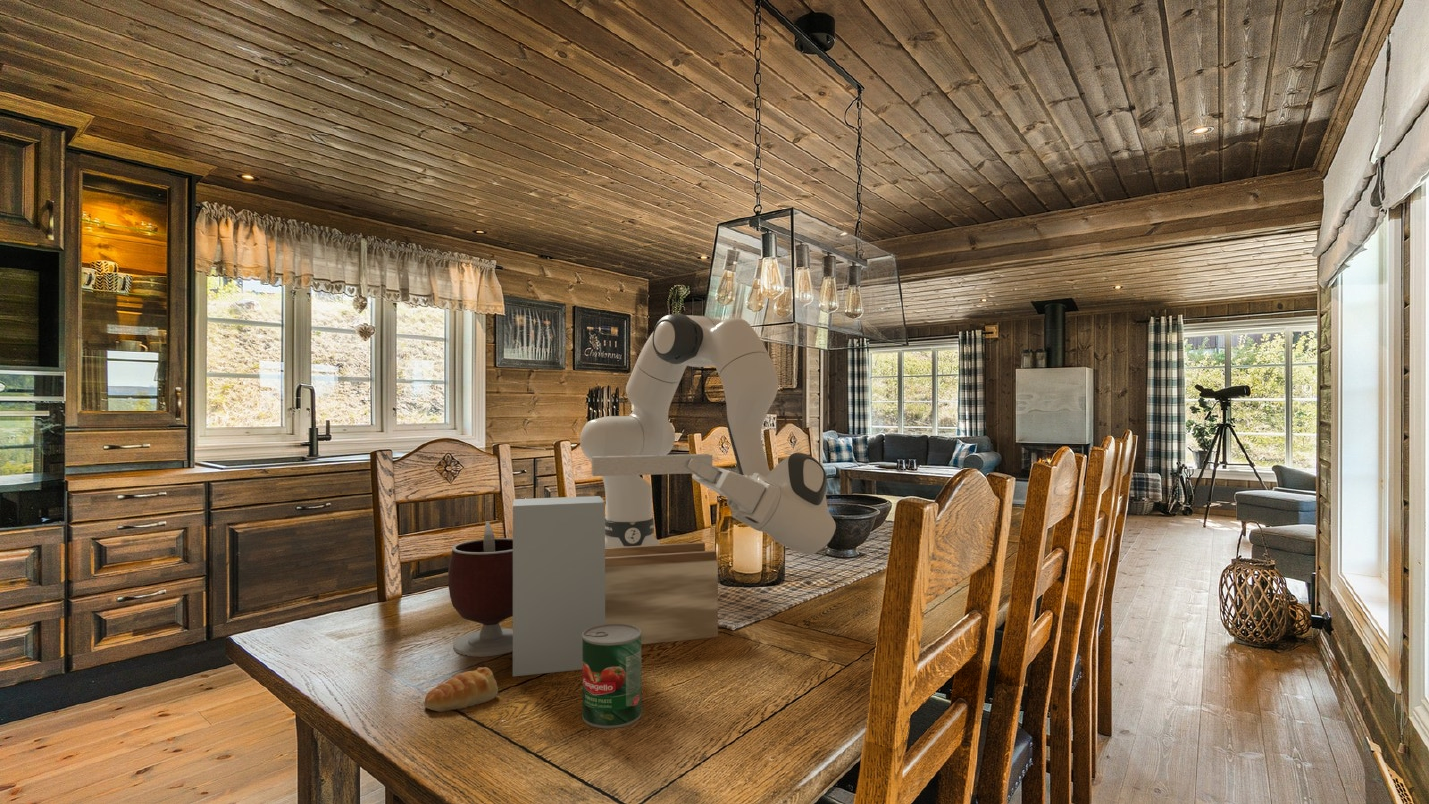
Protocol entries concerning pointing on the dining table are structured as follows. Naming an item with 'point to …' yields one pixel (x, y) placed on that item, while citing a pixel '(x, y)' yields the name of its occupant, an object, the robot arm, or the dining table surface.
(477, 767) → the dining table surface
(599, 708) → the canned tomato
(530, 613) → the grey tall block
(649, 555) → the cradle block
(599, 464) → the bar
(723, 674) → the dining table surface
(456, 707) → the pastry
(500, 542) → the mate gourd
